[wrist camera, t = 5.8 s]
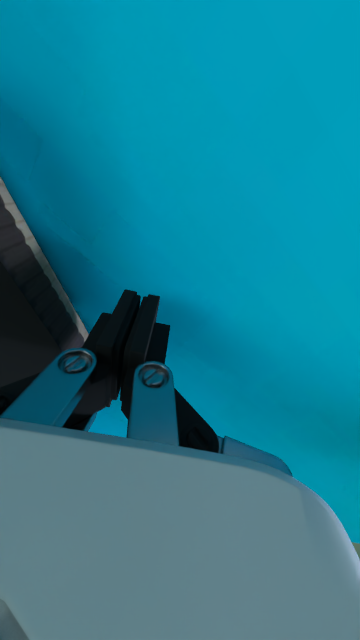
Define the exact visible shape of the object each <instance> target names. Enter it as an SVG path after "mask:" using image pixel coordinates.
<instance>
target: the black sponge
mask: <svg viewBox="0 0 360 640" xmlns="http://www.w3.org/2000/svg"><path fill="white" fill-rule="evenodd" d="M88 336H89V334H88V333H87V331H86V329H85V326H84V324H83V323H82V321H81V319H80V318H79V316H78V314H77V313H76V311H75V309H74V307H73V305H72V304H71V303H70V301H69V298H68V296H67V294H66V293H65V292H64V290H63V288H62V286H61V284H60V282H59V280H58V279H57V277H56V275H55V273H54V272H53V270H52V269H51V267H50V265H49V263H48V261H47V259H46V257H45V256H44V254H43V253H42V250H41V248H40V247H39V245H38V244H37V242H36V240H35V238H34V236H33V234H32V233H31V231H30V229H29V227H28V225H27V224H26V222H25V220H24V218H23V216H22V215H21V213H20V212H19V210H18V208H17V206H16V204H15V202H14V201H13V199H12V197H11V196H10V194H9V192H8V190H7V189H6V186H5V184H4V182H3V180H2V178H1V177H0V387H2V386H5V385H7V384H10V383H13V382H16V381H18V380H21V379H24V378H26V377H29V376H32V375H34V374H37V373H40V372H42V371H43V370H44V369H45V368H46V367H47V366H48V365H49V364H50V362H51V361H52V360H53V359H54V358H55V357H56V356H57V355H59V354H60V353H61V352H63V351H65V350H67V349H71V348H81V347H82V346H83V344H84V342H85V341H86V339H87V337H88Z"/></svg>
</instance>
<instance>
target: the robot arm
mask: <svg viewBox="0 0 360 640" xmlns="http://www.w3.org/2000/svg"><path fill="white" fill-rule="evenodd" d="M140 298H141V296H140V295H137V292H135V291H130V290H124V292H123V294H122V296H121V298H120V300H119V302H118V304H117V305H116V307H115V309H114V311H113V313H112V314H108V313H102V314H101V315H100V317H99V319H98V321H97V322H96V324H95V326H94V327H93V329H92V331H91V332H90V334H89V336H88V337H87V339H86V341H85V342H84V344H83V346H82V347H81V348H71V349H67V350H65V351H63V352H61V353H60V354H59V355H57V356H56V357H55V358H54V359H53V360H52V361H51V362H50V364H49V365H48V366H47V367H46V368H45V369H44V370H43V371H42V372H40V373H37V374H34V375H32V376H29V377H26V378H24V379H21V380H18V381H16V382H13V383H10V384H7V385H5V386H2V387H0V640H360V559H359V557H358V555H357V553H356V551H355V549H354V547H353V545H352V543H351V541H350V539H349V537H348V535H347V533H346V531H345V529H344V527H343V526H342V524H341V522H340V521H339V519H338V518H337V516H336V514H335V513H334V512H333V510H332V509H331V508H330V507H329V505H328V504H327V503H326V502H325V501H324V500H323V499H322V498H321V497H320V496H319V495H317V494H316V493H315V492H314V491H312V490H311V489H310V488H308V487H307V486H306V485H304V484H303V483H301V482H299V481H298V480H296V479H295V478H293V476H292V473H291V471H290V469H289V468H288V466H287V465H286V464H285V463H284V462H283V461H282V460H281V459H279V458H278V457H276V456H274V455H272V454H269V453H267V452H264V451H262V450H259V449H257V448H254V447H252V446H249V445H247V444H245V443H242V442H240V441H237V440H235V439H232V438H230V437H227V436H225V437H224V438H222V437H220V436H217V435H216V433H215V432H214V431H213V429H212V428H211V427H210V426H209V425H208V424H207V423H206V421H205V420H204V419H203V418H202V417H201V416H200V415H199V414H198V413H197V412H196V411H195V410H194V409H193V407H192V406H191V405H190V404H189V403H188V402H187V401H186V400H185V399H184V398H183V397H182V396H181V394H180V393H179V392H178V391H177V390H176V389H175V388H174V381H173V374H172V371H171V370H170V369H169V367H167V366H166V365H165V357H166V351H167V344H168V337H169V331H170V325H165V324H160V323H156V317H157V311H158V305H159V299H160V296H155V295H150V294H149V295H148V297H145V296H144V297H143V300H142V302H141V305H140ZM139 307H140V308H139ZM120 388H121V394H120V401H122V406H121V410H122V412H123V413H124V415H125V416H126V418H127V419H128V427H127V438H124V437H118V436H112V435H105V434H99V433H93V432H88V431H89V429H90V427H91V425H92V423H93V422H94V420H95V418H96V415H97V412H98V411H99V410H101V409H103V408H105V407H110V404H111V401H112V399H113V400H117V397H118V394H119V391H120Z"/></svg>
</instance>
